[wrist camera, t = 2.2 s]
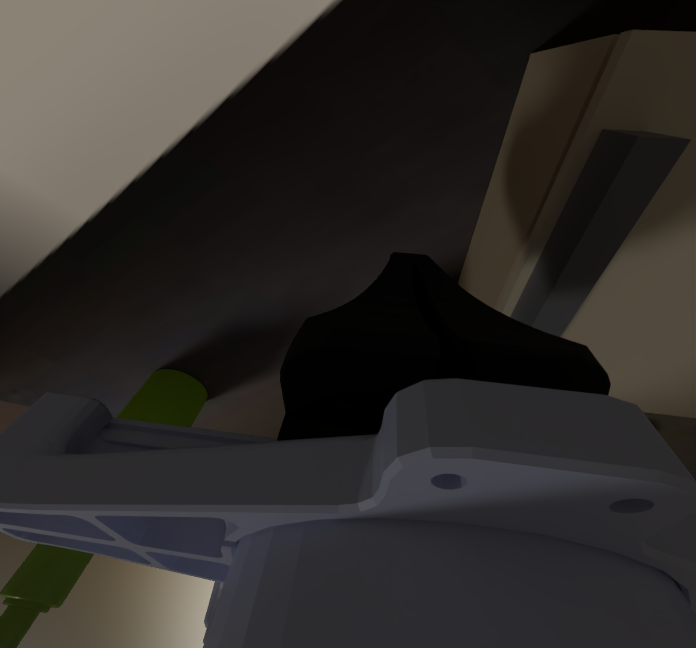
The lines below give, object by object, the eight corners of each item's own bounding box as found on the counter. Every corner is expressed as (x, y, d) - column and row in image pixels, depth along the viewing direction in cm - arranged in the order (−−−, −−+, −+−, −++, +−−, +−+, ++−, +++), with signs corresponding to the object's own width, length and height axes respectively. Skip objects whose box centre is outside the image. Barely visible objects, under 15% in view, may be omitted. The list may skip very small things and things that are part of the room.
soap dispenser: (135, 381, 31) (-118, 671, 16) (173, 361, 28) (-89, 692, 13) (180, 411, 34) (3, 683, 19) (219, 396, 31) (48, 702, 16)
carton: (683, 339, 20) (770, 414, 16) (447, 315, 21) (462, 380, 17) (959, 70, 11) (1352, 60, 7) (530, 53, 12) (613, 34, 8)
